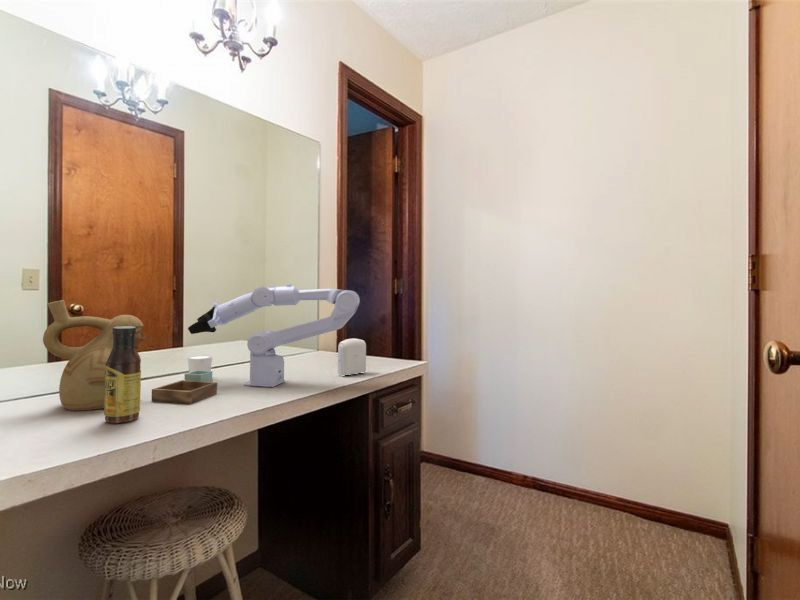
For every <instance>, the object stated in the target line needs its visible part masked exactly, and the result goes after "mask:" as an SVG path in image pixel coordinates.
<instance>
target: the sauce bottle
mask: <svg viewBox="0 0 800 600" xmlns="http://www.w3.org/2000/svg"><path fill="white" fill-rule="evenodd" d="M135 334H136V327H133V326H118V327H114V328H113V335H114V338H113V348H112V351H111V353H110V355H109V358H108V360H107V363H106V365H105V404H104V408H103V410H104V411H103V412H104V420H105V422H106V423H109V424H113V425H115V424H124V423H129V422H133V421H135V420H138V418H139V417H140V411H141V387H142V386H141V384H142V370H141V363H142V362H141V361H142V359H141V356H140V353H139V352H137V350H135V348H134V347H135Z"/></svg>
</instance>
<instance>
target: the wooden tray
mask: <svg viewBox="0 0 800 600" xmlns="http://www.w3.org/2000/svg"><path fill="white" fill-rule="evenodd" d="M217 394H218V382H217V381H216V382H213V381H212V382H202V381H187V380H185V379H183V380H178V381H175V382H172V383H169V384H166V385H161V386H159V387H155V388H152V389H151V402H155V403H156V402H157V403H169V404H179V405H180V404H182V405H183V404H184V405H191V404H195V403H196V402H200V401H202V400H204V399H206V398H209V397H212V396H215V395H217Z"/></svg>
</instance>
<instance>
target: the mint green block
mask: <svg viewBox="0 0 800 600" xmlns="http://www.w3.org/2000/svg"><path fill="white" fill-rule="evenodd" d="M184 380H187V381H202V382H213V370H211V371H193V372H190V373H189V372H186V373H184Z"/></svg>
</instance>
